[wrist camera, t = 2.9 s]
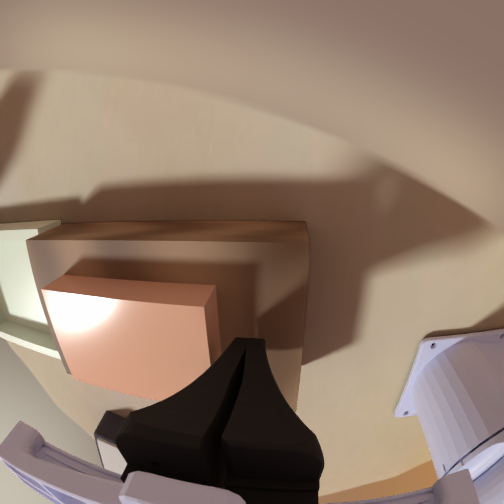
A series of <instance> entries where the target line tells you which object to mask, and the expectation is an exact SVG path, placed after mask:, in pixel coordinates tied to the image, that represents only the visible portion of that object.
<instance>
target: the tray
mask: <svg viewBox="0 0 504 504" xmlns="http://www.w3.org/2000/svg"><path fill="white" fill-rule="evenodd" d="M60 225H61V220H45V221H30V222H17V223H4V224H0V337H1V338H4V339H6V340H8V341H11V342H13V343H16V344H18V345H21V346H24V347H26V348H29V349H32V350H34V351H37V352H40V353H43V354H46V355H49V356H52V357H55V358H58V359H61V358H60V355H59V353H58V350H57V348H56V345H55V342H54V340H53V337H52V334H51V332H50V329H49V326H48V323H47V320H46V317H45V314H44V311H43V308H42V305H41V302H40V298H39V295H38V291H37V288H36V284H35V280H34V276H33V273H32V268H31V264H30V260H29V255H28V251H27V246H26V241H25V240H27V239H29V238H32V237H34V236H36V235H38V234H41V233H43V232H45V231H48V230H50V229H52V228H55V227H57V226H60Z"/></svg>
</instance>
